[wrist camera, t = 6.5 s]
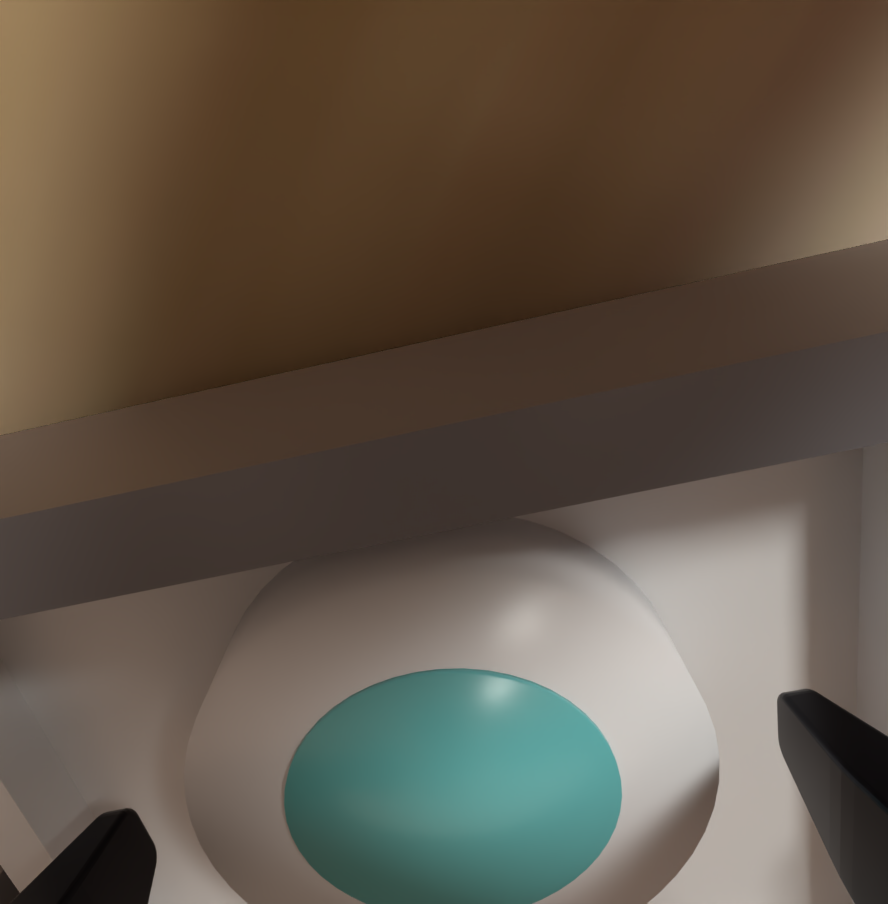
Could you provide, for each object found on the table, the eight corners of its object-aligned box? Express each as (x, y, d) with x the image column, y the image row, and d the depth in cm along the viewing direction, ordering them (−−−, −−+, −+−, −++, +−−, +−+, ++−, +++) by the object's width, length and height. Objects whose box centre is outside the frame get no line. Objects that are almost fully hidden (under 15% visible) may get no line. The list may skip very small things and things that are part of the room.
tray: (959, 223, 8) (1280, 248, 5) (906, 911, 13) (1053, 1136, 10) (-170, 473, 9) (-476, 620, 6) (177, 1021, 14) (105, 1256, 11)
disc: (655, 463, 9) (705, 525, 7) (693, 831, 11) (735, 936, 10) (150, 564, 9) (90, 644, 7) (298, 895, 12) (278, 1006, 10)
